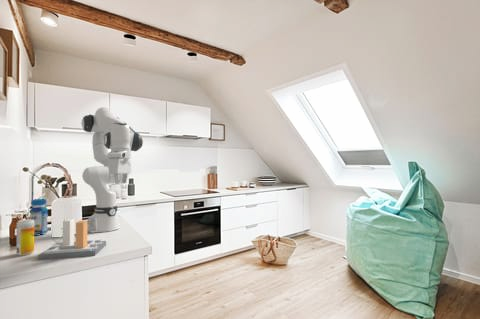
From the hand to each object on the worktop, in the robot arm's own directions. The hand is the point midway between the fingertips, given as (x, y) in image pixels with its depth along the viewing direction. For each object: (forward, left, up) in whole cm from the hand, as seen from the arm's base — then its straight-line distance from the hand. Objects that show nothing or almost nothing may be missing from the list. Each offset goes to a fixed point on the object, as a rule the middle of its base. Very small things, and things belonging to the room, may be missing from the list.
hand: (121, 183), depth 124 cm
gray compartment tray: (-12, -15, -31) cm, 36 cm away
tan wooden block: (-7, -15, -28) cm, 33 cm away
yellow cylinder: (-29, -27, -31) cm, 50 cm away
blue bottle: (-62, -8, -31) cm, 70 cm away
